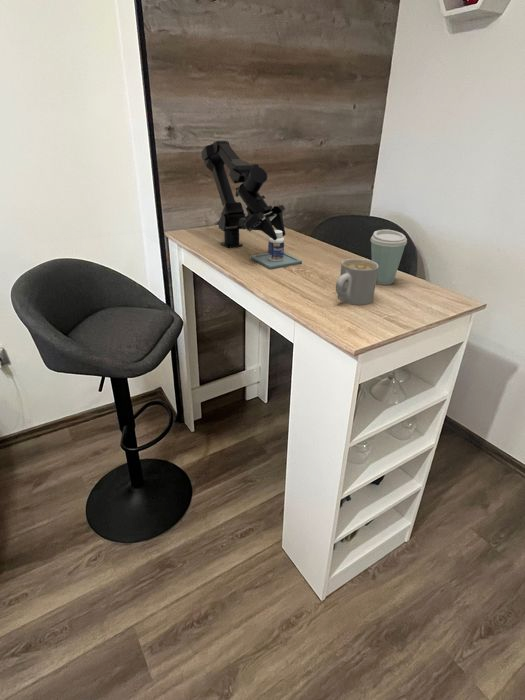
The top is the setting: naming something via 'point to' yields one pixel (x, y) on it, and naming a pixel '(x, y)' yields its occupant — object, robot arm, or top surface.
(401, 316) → the top surface
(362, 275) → the coffee mug
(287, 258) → the tray
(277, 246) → the pill bottle
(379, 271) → the disposable coffee cup
